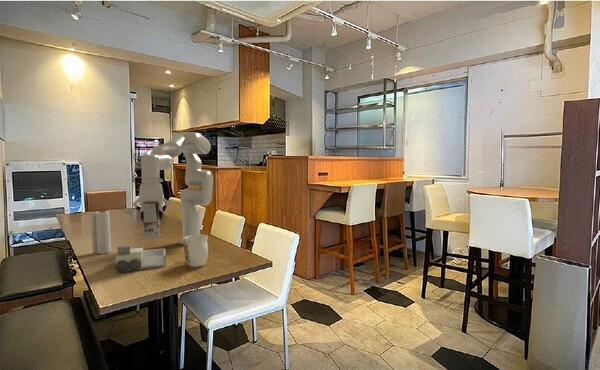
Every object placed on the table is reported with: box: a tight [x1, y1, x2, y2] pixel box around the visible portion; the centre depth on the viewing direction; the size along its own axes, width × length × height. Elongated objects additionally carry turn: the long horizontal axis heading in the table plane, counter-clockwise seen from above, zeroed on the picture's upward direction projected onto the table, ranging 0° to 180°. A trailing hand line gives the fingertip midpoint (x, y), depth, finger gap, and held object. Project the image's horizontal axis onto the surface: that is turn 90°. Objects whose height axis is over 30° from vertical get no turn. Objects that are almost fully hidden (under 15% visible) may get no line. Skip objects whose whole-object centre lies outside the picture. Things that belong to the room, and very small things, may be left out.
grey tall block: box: [90, 210, 112, 255], centre depth 172 cm, size 7×6×21 cm
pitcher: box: [183, 233, 209, 268], centre depth 155 cm, size 11×18×14 cm, turn 36°
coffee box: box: [143, 202, 161, 239], centre depth 154 cm, size 9×6×16 cm
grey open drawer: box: [141, 247, 167, 270], centre depth 156 cm, size 10×13×5 cm
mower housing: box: [114, 244, 144, 274], centre depth 152 cm, size 10×18×9 cm, turn 22°
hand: (151, 219), depth 154 cm, fingers closed on coffee box, 6 cm apart
